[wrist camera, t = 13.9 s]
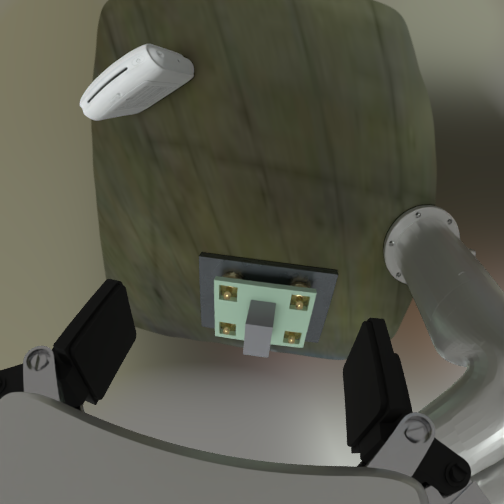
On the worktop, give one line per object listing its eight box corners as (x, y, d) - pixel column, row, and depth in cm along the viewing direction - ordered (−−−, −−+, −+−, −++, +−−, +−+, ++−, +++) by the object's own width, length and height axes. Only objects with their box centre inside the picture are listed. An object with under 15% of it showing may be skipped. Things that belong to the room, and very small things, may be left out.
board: (316, 288, 40) (318, 317, 34) (302, 343, 45) (301, 372, 40) (215, 275, 41) (204, 302, 36) (216, 331, 46) (207, 358, 41)
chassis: (337, 270, 41) (341, 290, 37) (317, 337, 48) (318, 359, 44) (201, 252, 43) (190, 270, 39) (203, 321, 50) (195, 341, 46)
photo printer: (186, 50, 29) (138, 33, 18) (201, 76, 31) (157, 68, 20) (124, 92, 33) (65, 98, 22) (137, 117, 34) (80, 130, 24)
